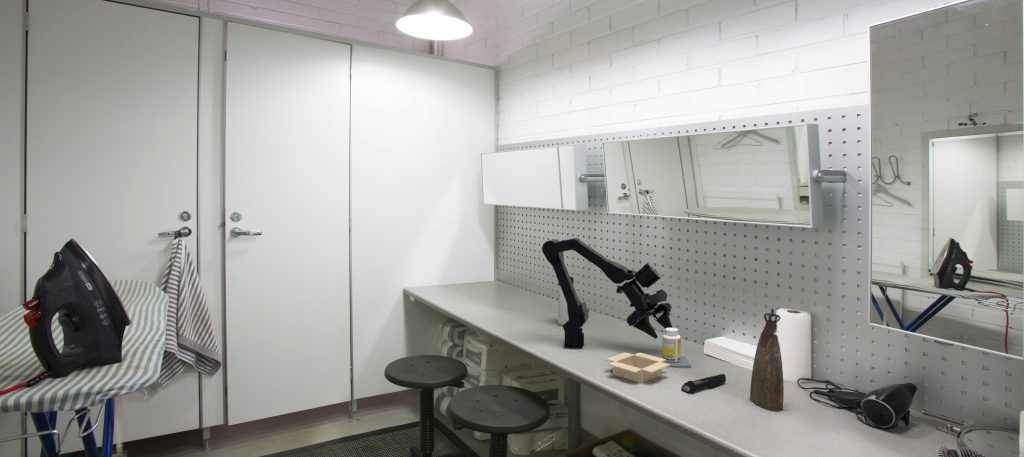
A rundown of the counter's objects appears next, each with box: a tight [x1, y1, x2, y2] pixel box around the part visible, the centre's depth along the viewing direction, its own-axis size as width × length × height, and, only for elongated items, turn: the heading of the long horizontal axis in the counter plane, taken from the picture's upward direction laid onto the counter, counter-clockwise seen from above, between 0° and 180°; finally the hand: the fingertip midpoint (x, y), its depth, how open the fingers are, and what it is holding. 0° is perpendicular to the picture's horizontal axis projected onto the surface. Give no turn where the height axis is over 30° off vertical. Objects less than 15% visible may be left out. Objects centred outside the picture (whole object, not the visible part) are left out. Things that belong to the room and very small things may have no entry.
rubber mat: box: [653, 354, 692, 369], centre depth 170 cm, size 10×10×1 cm
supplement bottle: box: [662, 327, 682, 363], centre depth 169 cm, size 6×6×10 cm
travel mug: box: [557, 276, 575, 327], centre depth 218 cm, size 6×7×20 cm
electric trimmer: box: [680, 373, 727, 395], centre depth 148 cm, size 4×16×3 cm, turn 118°
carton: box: [606, 351, 670, 384], centre depth 159 cm, size 16×16×4 cm
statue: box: [749, 308, 785, 412], centre depth 135 cm, size 9×8×25 cm
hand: (664, 335), depth 171 cm, fingers open, 9 cm apart
